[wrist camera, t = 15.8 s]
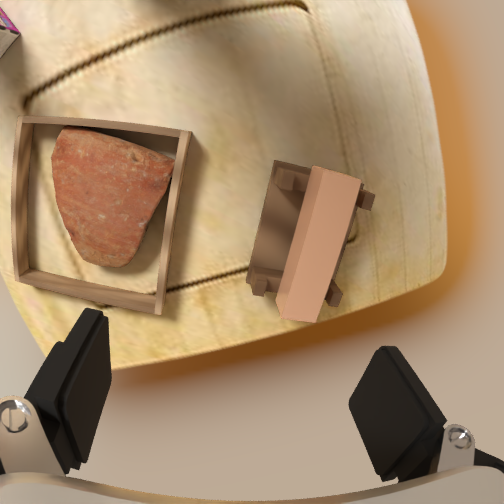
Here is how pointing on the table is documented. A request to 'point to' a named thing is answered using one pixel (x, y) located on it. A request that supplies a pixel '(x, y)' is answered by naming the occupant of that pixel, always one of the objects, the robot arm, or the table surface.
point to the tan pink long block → (316, 243)
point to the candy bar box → (6, 33)
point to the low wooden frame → (73, 285)
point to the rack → (288, 229)
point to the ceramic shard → (107, 192)
